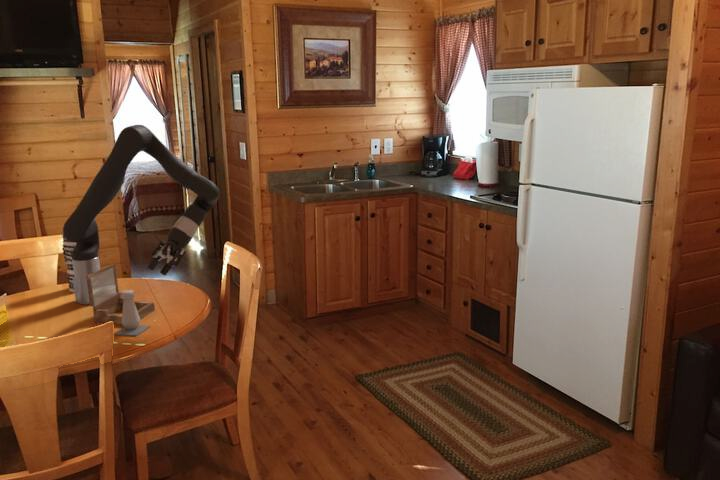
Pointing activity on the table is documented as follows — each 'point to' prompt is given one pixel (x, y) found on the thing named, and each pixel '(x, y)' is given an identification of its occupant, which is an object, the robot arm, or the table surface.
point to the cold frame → (110, 297)
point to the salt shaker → (129, 310)
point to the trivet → (132, 331)
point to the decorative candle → (69, 260)
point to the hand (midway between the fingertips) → (156, 271)
